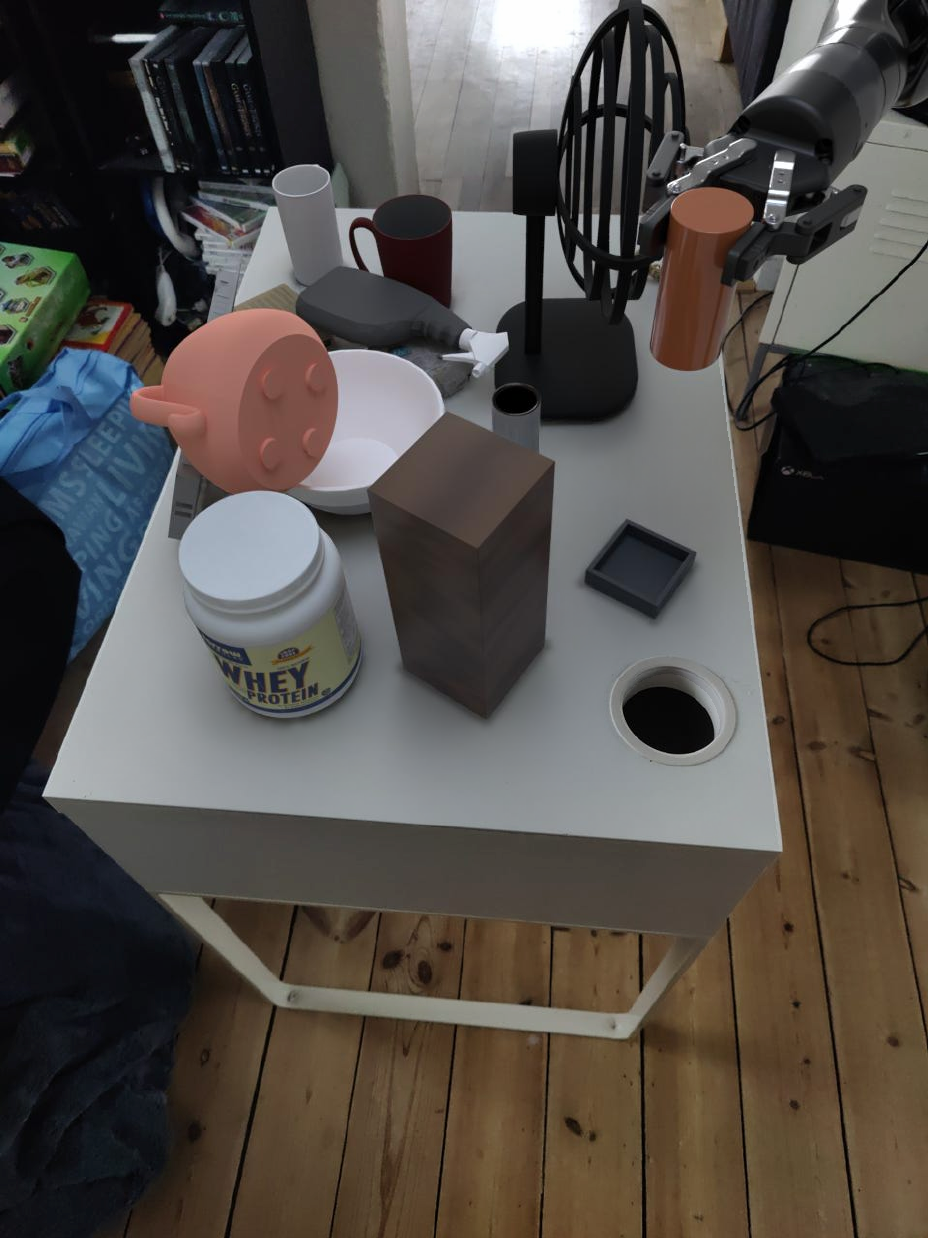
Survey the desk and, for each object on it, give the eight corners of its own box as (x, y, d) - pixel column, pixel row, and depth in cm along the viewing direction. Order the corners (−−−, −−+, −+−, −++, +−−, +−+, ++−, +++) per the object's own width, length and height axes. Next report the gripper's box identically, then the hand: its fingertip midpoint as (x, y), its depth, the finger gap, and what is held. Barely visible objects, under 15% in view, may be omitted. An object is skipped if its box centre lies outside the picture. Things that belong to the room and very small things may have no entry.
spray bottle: (346, 282, 102) (526, 343, 94) (288, 325, 96) (473, 394, 88) (343, 258, 100) (527, 318, 92) (283, 300, 94) (473, 369, 86)
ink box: (292, 307, 105) (232, 336, 103) (284, 279, 102) (222, 309, 100) (336, 347, 100) (274, 379, 98) (330, 319, 97) (266, 352, 95)
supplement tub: (215, 723, 73) (145, 611, 59) (241, 606, 80) (184, 480, 66) (357, 725, 72) (320, 611, 58) (371, 606, 79) (341, 479, 65)
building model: (221, 383, 98) (203, 379, 97) (242, 252, 84) (222, 246, 83) (186, 559, 84) (165, 555, 83) (206, 437, 70) (180, 431, 70)
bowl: (421, 393, 95) (414, 331, 88) (473, 520, 84) (469, 460, 78) (248, 435, 93) (227, 374, 86) (279, 570, 82) (258, 513, 75)
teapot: (371, 478, 83) (271, 448, 88) (385, 310, 77) (276, 288, 81) (207, 534, 65) (93, 493, 70) (206, 321, 59) (80, 291, 64)
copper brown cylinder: (733, 340, 59) (768, 201, 51) (700, 380, 57) (731, 242, 49) (670, 317, 61) (694, 178, 52) (636, 355, 59) (655, 217, 50)
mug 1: (338, 291, 107) (320, 197, 97) (287, 287, 108) (264, 194, 98) (358, 244, 112) (343, 151, 102) (309, 240, 113) (290, 148, 103)
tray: (693, 565, 80) (697, 551, 79) (654, 619, 77) (657, 606, 76) (624, 531, 83) (626, 518, 81) (584, 582, 80) (585, 569, 78)
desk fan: (662, 450, 89) (734, 86, 60) (492, 450, 90) (482, 94, 61) (642, 289, 104) (693, -64, 75) (497, 291, 105) (491, -56, 76)
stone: (442, 310, 98) (487, 358, 93) (442, 344, 101) (485, 392, 96) (319, 350, 93) (359, 403, 88) (324, 384, 97) (363, 437, 92)
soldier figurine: (644, 257, 101) (672, 275, 103) (643, 251, 102) (670, 268, 104) (632, 270, 103) (660, 288, 105) (631, 264, 104) (658, 281, 106)
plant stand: (544, 644, 76) (555, 460, 57) (486, 719, 72) (477, 548, 53) (463, 598, 79) (447, 410, 60) (403, 668, 76) (366, 489, 57)
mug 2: (352, 322, 103) (336, 236, 94) (367, 277, 108) (354, 191, 98) (451, 327, 101) (444, 241, 92) (462, 282, 106) (457, 195, 97)
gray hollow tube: (487, 466, 89) (485, 389, 80) (528, 455, 89) (530, 377, 81) (502, 497, 86) (501, 420, 78) (544, 485, 87) (548, 408, 78)
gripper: (719, 42, 57) (586, 160, 50) (935, 95, 52) (821, 235, 45) (699, 155, 64) (578, 274, 56) (890, 212, 59) (783, 351, 51)
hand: (687, 256), depth 51 cm, fingers closed on copper brown cylinder, 5 cm apart
